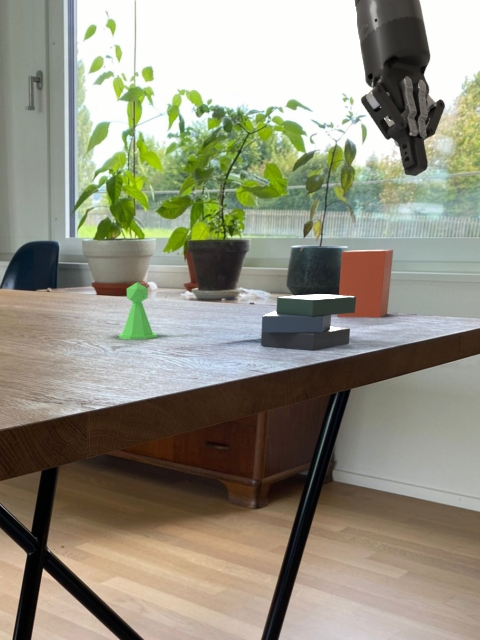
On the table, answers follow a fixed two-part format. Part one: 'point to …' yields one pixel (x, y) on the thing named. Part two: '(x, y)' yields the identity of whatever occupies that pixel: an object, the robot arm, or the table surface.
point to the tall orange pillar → (366, 281)
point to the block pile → (307, 322)
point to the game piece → (137, 315)
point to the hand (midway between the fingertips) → (417, 172)
